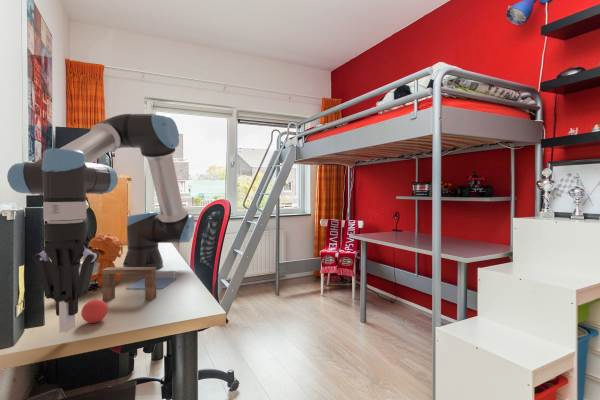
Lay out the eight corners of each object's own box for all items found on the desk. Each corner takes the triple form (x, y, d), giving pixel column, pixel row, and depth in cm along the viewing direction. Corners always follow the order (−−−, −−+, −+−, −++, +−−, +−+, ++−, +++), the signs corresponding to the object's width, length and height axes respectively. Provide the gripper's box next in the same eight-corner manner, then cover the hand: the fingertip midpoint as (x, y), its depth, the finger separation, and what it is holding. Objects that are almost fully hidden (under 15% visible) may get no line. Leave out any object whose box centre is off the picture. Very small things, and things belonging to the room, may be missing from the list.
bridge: (108, 297, 98) (107, 267, 98) (156, 297, 98) (156, 267, 98) (102, 300, 95) (102, 269, 95) (152, 300, 95) (151, 269, 95)
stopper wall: (148, 277, 120) (148, 271, 120) (175, 277, 120) (175, 271, 120) (146, 278, 118) (146, 272, 118) (173, 278, 118) (173, 272, 118)
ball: (90, 317, 82) (90, 296, 82) (112, 317, 82) (112, 296, 82) (76, 326, 77) (75, 304, 77) (99, 326, 77) (99, 303, 77)
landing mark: (143, 279, 118) (143, 278, 118) (176, 278, 118) (176, 278, 118) (126, 289, 106) (126, 288, 106) (162, 289, 106) (162, 288, 106)
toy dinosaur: (90, 282, 114) (89, 231, 114) (124, 278, 118) (124, 230, 118) (83, 291, 104) (81, 235, 103) (121, 287, 108) (120, 233, 108)
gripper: (20, 223, 65) (22, 337, 66) (84, 223, 66) (86, 337, 66) (48, 220, 73) (50, 322, 74) (106, 219, 73) (107, 322, 74)
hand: (67, 329), depth 70 cm, fingers closed
